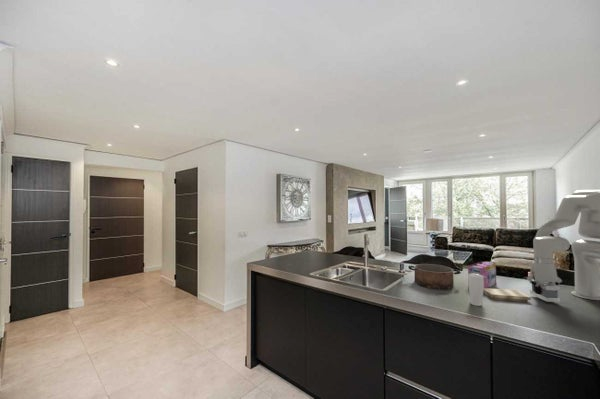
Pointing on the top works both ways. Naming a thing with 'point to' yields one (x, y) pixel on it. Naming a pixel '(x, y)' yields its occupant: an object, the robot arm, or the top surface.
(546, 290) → the block
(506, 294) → the wavy cream panel
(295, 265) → the top surface
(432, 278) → the cooking pot
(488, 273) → the gum box
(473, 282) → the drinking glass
